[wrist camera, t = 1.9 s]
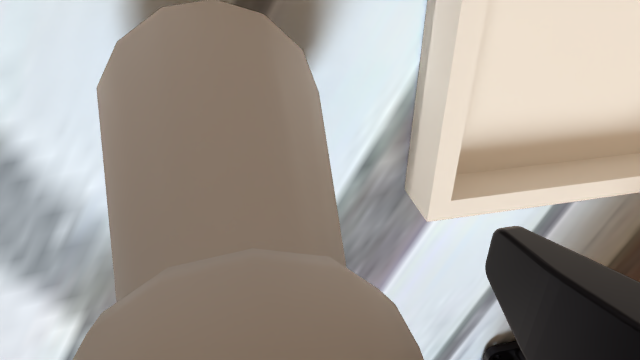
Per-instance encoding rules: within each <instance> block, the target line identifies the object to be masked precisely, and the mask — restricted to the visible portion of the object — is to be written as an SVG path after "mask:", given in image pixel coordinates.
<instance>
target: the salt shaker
mask: <svg viewBox="0 0 640 360" xmlns="http://www.w3.org/2000/svg"><path fill="white" fill-rule="evenodd" d="M97 98H98V109H99V119H100V130H101V141H102V151H103V162H104V173H105V184H106V194H107V205H108V216H109V226H110V237H111V248H112V258H113V269H114V280H115V291H116V301H117V303H115V304H114V305H113V306H111V307H110V308H108V309H107V310H105V311H104V312H102V314H101V315H100V316H99V318H98V319H97V320H96V322H95V323H94V325H93V326H92V327H91V329H90V330H89V331H88V333H87V334H86V336H85V338H84V340H83V342H82V344H81V345H80V347H79V349H78V351H77V353H76V355H75V356H74V358H73V360H424V359H423V356H422V353H421V351H420V348H419V346H418V344H417V343H416V341H415V339H414V337H413V335H412V334H411V332H410V330H409V328H408V326H407V325H406V323H405V321H404V319H403V318H402V316H401V314H400V312H399V310H398V309H397V307H396V305H395V304H394V303H393V302H392V301H391V300H390V299H389V298H388V297H387V296H386V295H384V294H383V293H382V292H381V291H380V290H379V289H378V288H376V287H375V286H373V285H372V284H370V283H369V282H367V281H365V280H364V279H362V278H361V277H359V276H358V275H356V274H355V273H353V272H352V271H350V270H349V269H347V268H346V262H345V256H344V249H343V243H342V237H341V230H340V224H339V218H338V211H337V205H336V199H335V192H334V186H333V179H332V173H331V167H330V160H329V154H328V148H327V141H326V135H325V129H324V122H323V116H322V109H321V103H320V97H319V92H318V89H317V86H316V84H315V81H314V79H313V76H312V73H311V71H310V68H309V65H308V63H307V60H306V57H305V55H304V52H303V50H302V49H301V48H300V47H299V46H298V45H297V44H296V43H295V42H294V41H293V40H291V39H290V38H289V37H288V36H287V35H286V34H285V33H284V32H283V31H282V30H281V29H280V28H279V27H277V26H276V25H275V24H274V23H273V22H272V21H271V20H270V19H269V18H268V17H267V16H265V15H264V14H262V13H259V12H256V11H252V10H249V9H246V8H242V7H239V6H236V5H232V4H229V3H226V2H222V1H219V0H203V1H197V2H191V3H184V4H178V5H172V6H166V7H161V8H160V9H159V10H157V11H156V12H155V13H153V14H152V15H151V16H150V17H148V18H147V19H146V20H144V21H143V22H142V23H140V24H139V25H138V26H137V27H135V28H134V29H133V30H131V31H130V32H129V33H128V34H126V35H125V36H124V37H122V38H121V39H120V40H118V41H117V43H116V45H115V47H114V49H113V52H112V54H111V56H110V59H109V61H108V63H107V65H106V68H105V70H104V72H103V74H102V77H101V79H100V81H99V83H98V86H97Z"/></svg>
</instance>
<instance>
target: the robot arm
mask: <svg viewBox="0 0 640 360" xmlns="http://www.w3.org/2000/svg"><path fill="white" fill-rule="evenodd" d="M485 269H486V275H487V278H488V280H489V282H490V284H491V287H492V289H493V291H494V293H495V295H496V297H497V300H498V302H499V304H500V306H501V308H502V310H503V313H504V315H505V317H506V319H507V321H508V323H509V326H510V328H511V330H512V332H513V334H514V336H515V338H516V342H511V343H506V344H500V345H495V346H492V347H490V348H489V349H487V350H486V352H485V354H484V357H483V360H640V282H638V281H636V280H633V279H631V278H629V277H627V276H625V275H623V274H621V273H619V272H616V271H614V270H612V269H610V268H608V267H606V266H604V265H601V264H599V263H597V262H595V261H593V260H591V259H589V258H586V257H584V256H582V255H580V254H578V253H576V252H574V251H572V250H569V249H567V248H565V247H563V246H561V245H559V244H557V243H554V242H552V241H550V240H548V239H546V238H544V237H542V236H539V235H537V234H535V233H533V232H531V231H529V230H527V229H525V228H522V227H519V226H512V227H505V228H499V229H497V230H496V231H495V232H494V233H493V236H492V240H491V244H490V248H489V252H488V256H487V260H486V265H485Z"/></svg>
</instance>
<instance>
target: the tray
mask: <svg viewBox="0 0 640 360" xmlns="http://www.w3.org/2000/svg"><path fill="white" fill-rule="evenodd" d="M404 189H405V191H406V192H407V194H408V195H409V197H410V198H411V199H412V201H413V202H414V204H415V205H416V207H417V208H418V210H419V211H420V212H421V214H422V215H423V217H424V218H425V220H426V221H427V222H430V221H437V220H445V219H452V218H459V217H466V216H474V215H481V214H488V213H495V212H502V211H510V210H517V209H524V208H531V207H538V206H546V205H553V204H560V203H567V202H575V201H582V200H589V199H596V198H603V197H611V196H618V195H625V194H632V193H640V0H427V8H426V17H425V25H424V33H423V41H422V49H421V57H420V66H419V74H418V82H417V90H416V98H415V107H414V115H413V123H412V131H411V139H410V147H409V156H408V164H407V172H406V180H405V188H404Z"/></svg>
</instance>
